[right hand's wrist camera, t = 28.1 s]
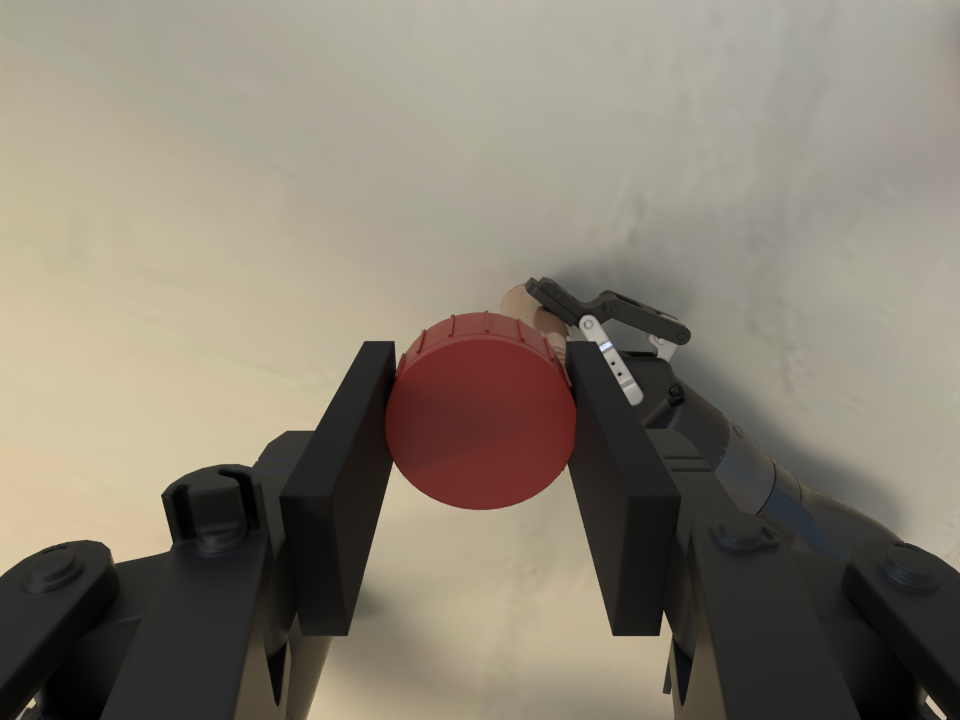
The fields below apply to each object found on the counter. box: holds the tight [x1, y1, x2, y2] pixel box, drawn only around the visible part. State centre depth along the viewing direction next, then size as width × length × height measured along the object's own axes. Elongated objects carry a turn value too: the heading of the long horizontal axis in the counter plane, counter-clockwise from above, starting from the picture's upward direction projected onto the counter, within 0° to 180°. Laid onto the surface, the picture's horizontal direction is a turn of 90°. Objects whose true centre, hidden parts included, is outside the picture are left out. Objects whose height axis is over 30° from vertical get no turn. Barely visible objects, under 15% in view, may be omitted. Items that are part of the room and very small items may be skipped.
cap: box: [385, 311, 576, 510], centre depth 14 cm, size 4×4×2 cm
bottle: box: [500, 284, 574, 365], centre depth 35 cm, size 4×4×18 cm
